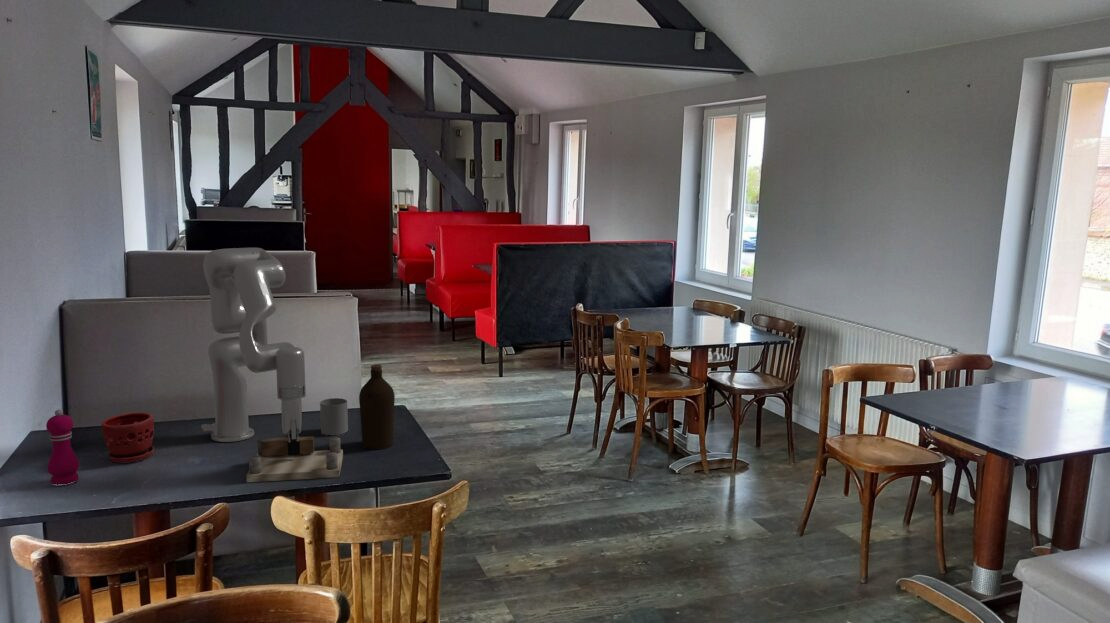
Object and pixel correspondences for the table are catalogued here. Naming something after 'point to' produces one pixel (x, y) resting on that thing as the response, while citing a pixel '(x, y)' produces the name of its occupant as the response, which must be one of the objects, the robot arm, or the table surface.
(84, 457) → the table surface
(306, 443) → the folding leg
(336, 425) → the cup
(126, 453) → the plant pot
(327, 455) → the stool seat
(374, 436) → the olive oil
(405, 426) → the table surface
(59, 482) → the pepper mill
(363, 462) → the table surface
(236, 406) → the robot arm
